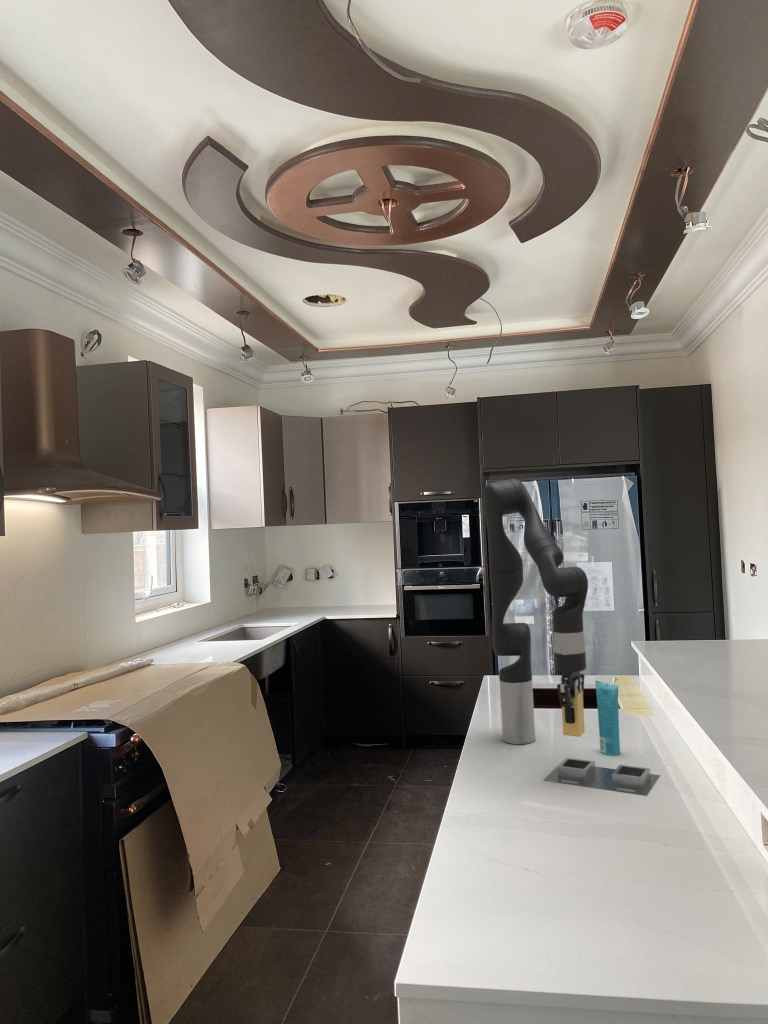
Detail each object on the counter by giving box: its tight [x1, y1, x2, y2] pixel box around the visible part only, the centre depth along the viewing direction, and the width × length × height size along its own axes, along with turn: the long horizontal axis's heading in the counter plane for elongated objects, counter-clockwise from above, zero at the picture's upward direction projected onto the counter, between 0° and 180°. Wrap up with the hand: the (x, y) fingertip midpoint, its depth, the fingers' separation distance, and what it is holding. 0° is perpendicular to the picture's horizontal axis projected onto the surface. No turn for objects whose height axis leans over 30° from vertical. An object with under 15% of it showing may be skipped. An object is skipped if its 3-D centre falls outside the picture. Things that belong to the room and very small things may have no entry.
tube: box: [594, 680, 621, 757], centre depth 196 cm, size 7×5×19 cm, turn 39°
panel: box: [542, 757, 661, 797], centre depth 178 cm, size 14×24×4 cm, turn 58°
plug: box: [561, 689, 586, 738], centre depth 181 cm, size 4×4×11 cm
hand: (573, 720), depth 181 cm, fingers closed on plug, 4 cm apart
